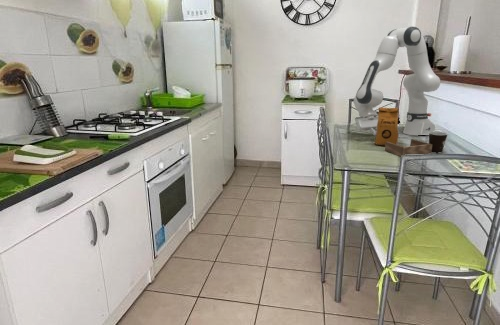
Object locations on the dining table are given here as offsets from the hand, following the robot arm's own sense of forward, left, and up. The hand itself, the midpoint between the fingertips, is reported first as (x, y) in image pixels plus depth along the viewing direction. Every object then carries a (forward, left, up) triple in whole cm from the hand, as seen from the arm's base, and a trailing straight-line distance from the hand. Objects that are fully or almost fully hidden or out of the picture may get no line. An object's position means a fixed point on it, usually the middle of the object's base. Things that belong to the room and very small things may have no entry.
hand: (376, 134), depth 202 cm
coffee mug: (-16, +31, -5) cm, 35 cm away
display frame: (0, +26, -4) cm, 26 cm away
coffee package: (0, +9, -5) cm, 10 cm away
